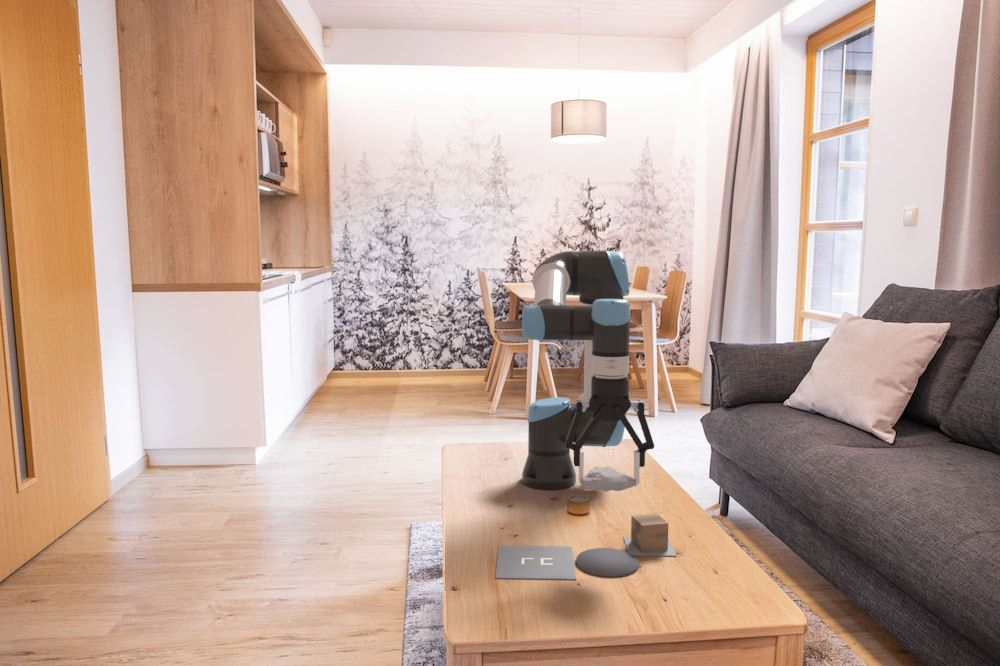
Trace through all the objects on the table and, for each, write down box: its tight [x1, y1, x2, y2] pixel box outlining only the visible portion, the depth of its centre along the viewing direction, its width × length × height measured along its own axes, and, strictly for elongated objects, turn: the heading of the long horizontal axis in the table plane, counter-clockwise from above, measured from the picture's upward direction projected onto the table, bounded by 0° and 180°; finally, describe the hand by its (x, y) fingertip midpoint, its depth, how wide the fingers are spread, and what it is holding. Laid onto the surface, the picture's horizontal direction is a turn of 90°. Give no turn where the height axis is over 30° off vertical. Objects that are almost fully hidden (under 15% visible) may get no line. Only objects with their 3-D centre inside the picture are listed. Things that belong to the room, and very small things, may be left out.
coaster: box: [575, 547, 640, 578], centre depth 154 cm, size 13×13×1 cm
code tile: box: [494, 544, 577, 581], centre depth 154 cm, size 16×16×1 cm
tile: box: [623, 536, 677, 557], centre depth 162 cm, size 10×10×1 cm
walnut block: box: [630, 513, 669, 552], centre depth 162 cm, size 6×6×6 cm
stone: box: [580, 466, 639, 493], centre depth 151 cm, size 10×12×4 cm
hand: (608, 481), depth 152 cm, fingers closed on stone, 11 cm apart
